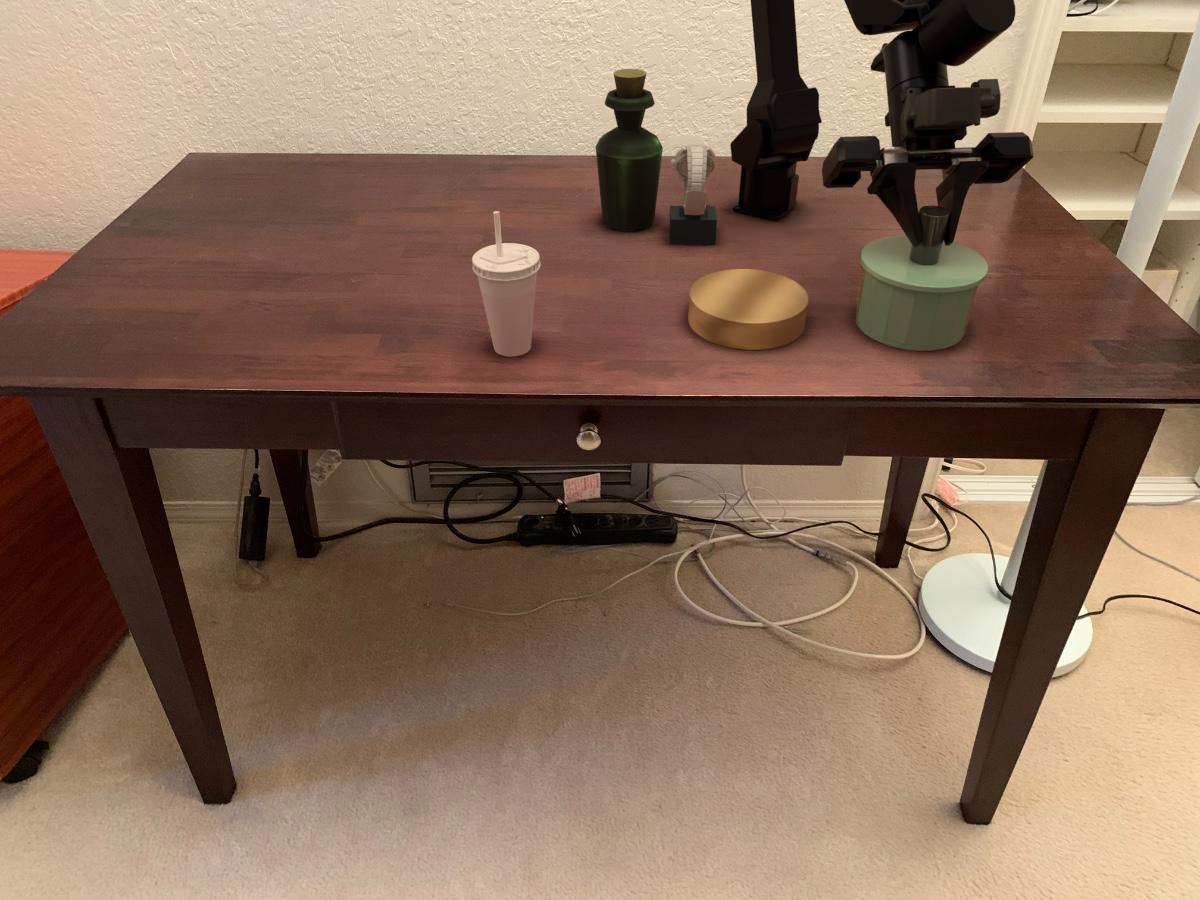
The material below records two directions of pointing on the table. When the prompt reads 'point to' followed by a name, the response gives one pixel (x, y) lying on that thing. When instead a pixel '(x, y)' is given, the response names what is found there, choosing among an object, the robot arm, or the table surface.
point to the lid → (925, 258)
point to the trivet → (747, 309)
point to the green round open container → (912, 315)
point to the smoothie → (508, 291)
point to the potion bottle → (629, 157)
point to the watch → (693, 198)
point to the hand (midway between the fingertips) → (933, 244)
